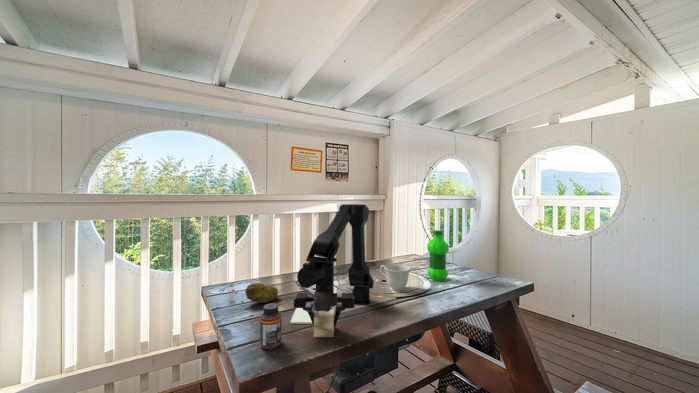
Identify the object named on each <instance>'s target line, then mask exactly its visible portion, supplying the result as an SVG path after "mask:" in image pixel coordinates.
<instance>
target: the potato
mask: <svg viewBox="0 0 699 393" xmlns="http://www.w3.org/2000/svg"><path fill="white" fill-rule="evenodd" d="M278 291H279V290H278V288H276V287H274V286H271V285H267V284H264V283H260V282H253V283H251V284H249V285H247V287H246V288H245V295H246V299H247V300H249V301H251V302H257V303H261V304H262V303H263V304H265V303H266V304H267V303H269V302H270V303H271V301H273V300H274V299H276V298H277V297H278V295H279V293H278Z"/></svg>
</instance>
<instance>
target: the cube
mask: <svg viewBox="0 0 699 393" xmlns="http://www.w3.org/2000/svg"><path fill="white" fill-rule="evenodd" d="M334 317H335V309H334V308H331V310H330V311H328V312H326V311H316V312H315V315H314V327H313V337H314V338H334V335H335V334H334V333H335V328H334Z"/></svg>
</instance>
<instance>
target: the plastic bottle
mask: <svg viewBox="0 0 699 393" xmlns="http://www.w3.org/2000/svg"><path fill="white" fill-rule="evenodd" d="M433 235H434V237H433V238H432V239H430V241H428V242H427V243H426V244H427V245H426V248H427V252H429V265H428V268H427V275H428V276H429V278H430V280H432V281H434V282H440V283H442V282H443V281H444V280H446V278H448V270H447V267H446V266H447V264H446V263H447V254H448V253H449V250H450V249H449V248H450V246H449V244H448V243H447V242H446V241H445V240H444V239H443V238H442V235H443V230H439V229H438V230H433Z"/></svg>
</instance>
